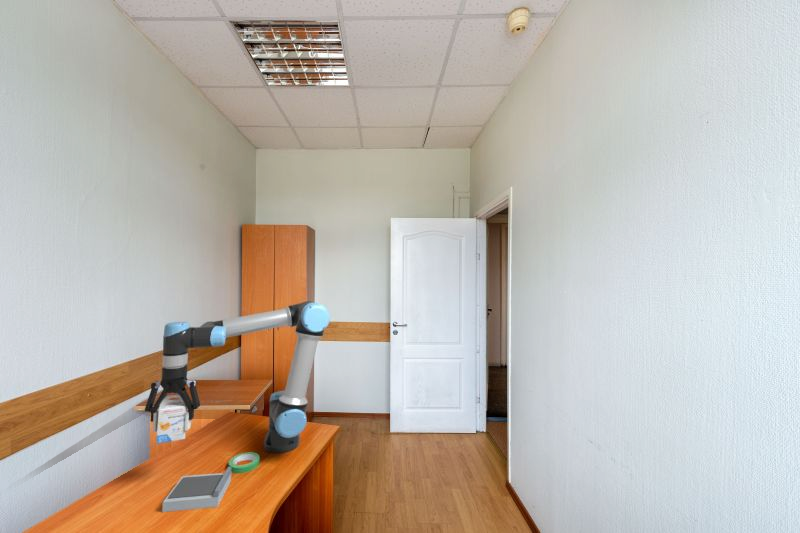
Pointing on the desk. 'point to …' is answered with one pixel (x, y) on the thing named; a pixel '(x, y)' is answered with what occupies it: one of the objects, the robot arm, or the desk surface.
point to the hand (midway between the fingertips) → (172, 429)
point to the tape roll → (247, 467)
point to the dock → (197, 492)
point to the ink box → (171, 419)
